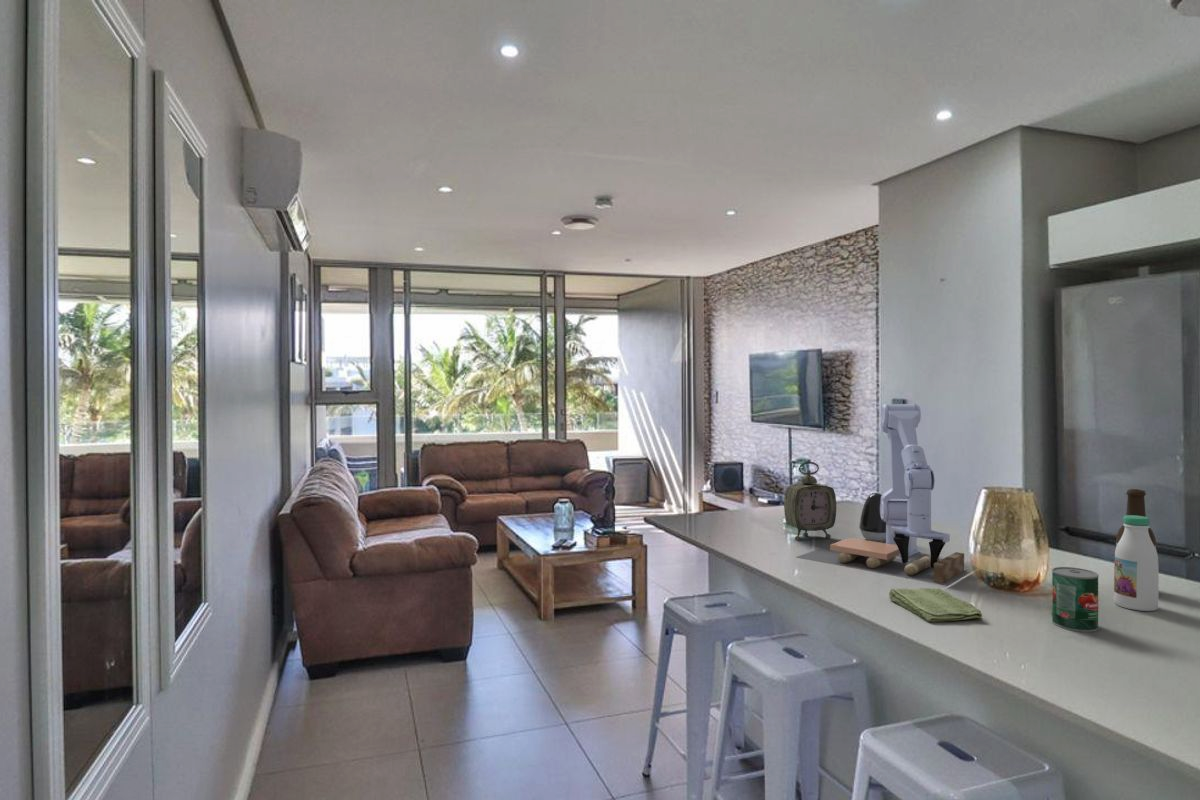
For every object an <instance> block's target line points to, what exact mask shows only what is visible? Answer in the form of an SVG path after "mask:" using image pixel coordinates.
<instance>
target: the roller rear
mask: <svg viewBox="0 0 1200 800" xmlns="http://www.w3.org/2000/svg"><path fill="white" fill-rule="evenodd" d="M859 557H862V555H856V554H850V553H844V552H841V553H840V554H839V555H838V560H839V561H840V562H841V563H847V562H850V561H852V560H855V559H857V558H859Z"/></svg>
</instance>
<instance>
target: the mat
mask: <svg viewBox="0 0 1200 800" xmlns="http://www.w3.org/2000/svg"><path fill="white" fill-rule="evenodd" d="M840 553H841V552H839V551H833V550H830V546H827V545H826V546H824V547H820V548H817V549H815V550H812V551H809V552H805V553H804V554H801V555H798V556H796V558H798V559H802V560H809V561H813V562H818V563H824V564H831V565H834V566H840V567H844V568H845V567H846V568H852V569H855V570H862V571H867V572H872V573H877V574H881V575H882V574H883V575H888V576H893V577H899V578H903V579H904V578H905V579H909V580H914V581H920V582H925V583H926V582H927V583H931V584H935V585H942V586H944V585H946V584H947V583H950V581H952V580H954V579H956V578H957V577H959V576H961V575H963V574H964V573H966V572H968V570H967V569H964V571H963V572H961V573H960V574H958V575H956V576H954V577H953V578H951V579H949V580H948V581H946V582H944V583H937V582H934V568H931V566H930V567H928V568H926V569H924V570H922V571H920V572H918V573H916V574H914V575H912V576H910V575H907V574H906V573H905V571H904V568H905V566H906V565H908V564H910V563H912V562H914V560H909V559H908V562H907V563H902V558H897V557H896V558H895V559H894V560H892V561H890V562H887V563H885V564H883V565H881V566H879V567H876V568H873V569H872V568H869V567H868V566H867V564H866V561H867V559H868V558H870V557H868V556H862V557H859V558H857V559H855V560H852V561H850V562H847V563H841V562H840V561H839V560H838V555H839V554H840Z"/></svg>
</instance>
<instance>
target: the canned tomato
mask: <svg viewBox="0 0 1200 800" xmlns="http://www.w3.org/2000/svg"><path fill="white" fill-rule="evenodd" d="M1051 571H1052V573H1051V574H1052V576H1051V579H1052V580H1051V584H1052V586H1051V591H1052V593H1051V594H1052V595H1051V596H1052V597H1051V599H1052V600H1051V602H1052V604H1051V607H1052V608H1051V609H1052V611H1051V615H1052V616H1051V619H1052V620H1051V622H1052V624H1053V625H1055V626H1056V627H1059V628H1061V629H1064V630H1067V631H1068V630H1069V631H1074V632H1080V633H1081V632H1082V633H1092V632H1093V633H1094V632H1097V631H1098V630H1099V574H1098V573H1097V572H1095V571H1092V570H1090V569H1087V568H1086V569H1085V568H1080V567H1071V566H1057V567H1053V568H1051Z"/></svg>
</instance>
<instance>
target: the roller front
mask: <svg viewBox="0 0 1200 800" xmlns="http://www.w3.org/2000/svg"><path fill="white" fill-rule="evenodd" d="M895 558H897V556H895V557H892V558H890V559H888V560H885V559H879V558H873V557H870V558H868V559H867V561H866V564H867V566H868V567H869V568H872V569H873V568H876V567H879V566H881V565H883V564H885V563H887V562H890V561H892V560H894V559H895Z"/></svg>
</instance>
